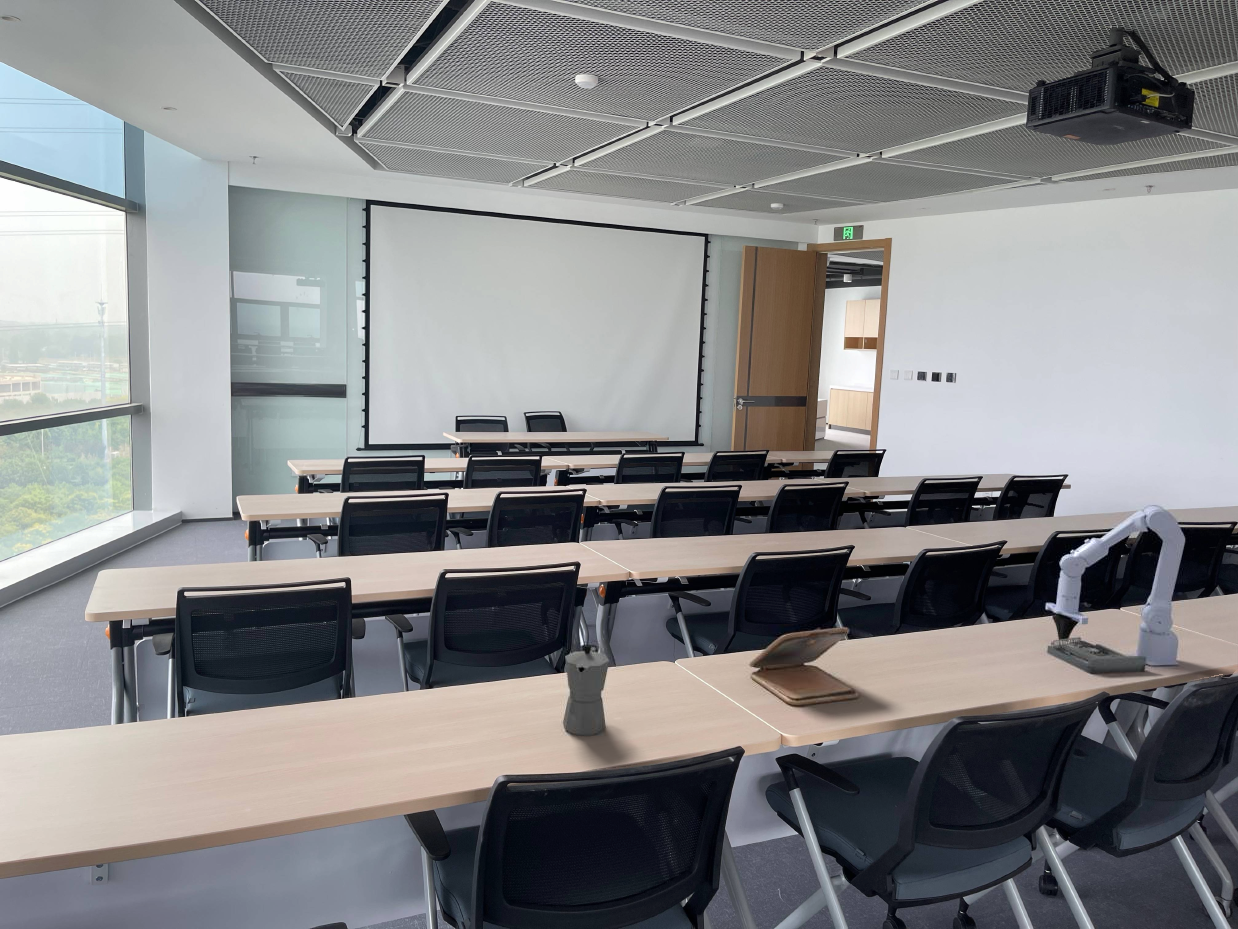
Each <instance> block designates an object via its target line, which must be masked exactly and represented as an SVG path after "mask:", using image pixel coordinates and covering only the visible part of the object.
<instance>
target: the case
mask: <svg viewBox="0 0 1238 929" xmlns="http://www.w3.org/2000/svg"><path fill="white" fill-rule="evenodd" d="M849 633H850V629H849V627H847V626H846V627H845V626H843V627H835V628H826V629H817V630H807V631H799V632H791V633H786V634H783V635H781V636H779V637H778V638H777V639H776V640H774V641H773V642H772V643H771V644H770V645H768V646H767V647H766V648H765V649H764V650H763V651H762V652H760V653H758V655H757V656H756V657H755V658H754V659H752V660H751V661H750V662H749V664H748V665H749V667H750V668H755V669H758V670H757V671H752V672H751V673H750V674H749V675H750V678H751V679H752V680H754V681H755V682H756V683H758V684H759V685H760V686H762V687H763V688H765V689H767V690H768V691H769V692H770V693H772V694H774V696H777V698H779V699H781V700H782V702H784V703H786V704H788V705H791V706H806V705H814V704H823V703H829V702H830V703H831V702H839V701H848V700H854V699H857V698H858V697H859V693H858V692H857V691H856V690H855V689H854V688H853V687H851V686H849V685H848V684H846V683H844V682H843V681H841V680H840V679H838V678H837V677H835V676H834V675H832V674H831V673H828V672H827V671H826V670H823V669H822V668H820V667H818V666H816V665H812V664H809V663H812V662H813V663H814V661H816V660H818V659H819V658H820V657H822V656H824V654H826V653H827V652H828V651H830V649H832V648H833V647H834V646H836V644H838V643H839V642H841V640H843V639H844V638H845V637H846V636H848V634H849Z"/></svg>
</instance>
